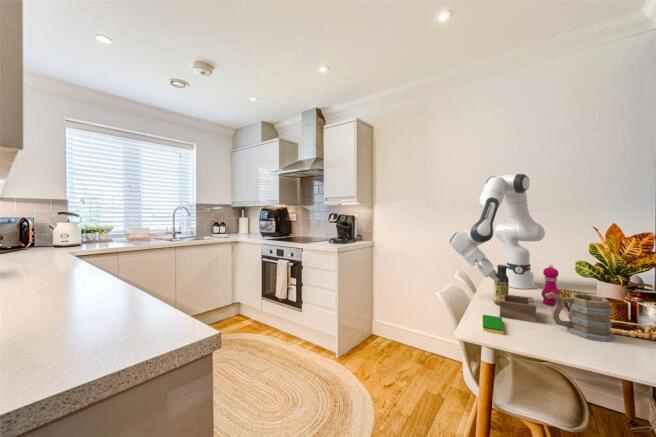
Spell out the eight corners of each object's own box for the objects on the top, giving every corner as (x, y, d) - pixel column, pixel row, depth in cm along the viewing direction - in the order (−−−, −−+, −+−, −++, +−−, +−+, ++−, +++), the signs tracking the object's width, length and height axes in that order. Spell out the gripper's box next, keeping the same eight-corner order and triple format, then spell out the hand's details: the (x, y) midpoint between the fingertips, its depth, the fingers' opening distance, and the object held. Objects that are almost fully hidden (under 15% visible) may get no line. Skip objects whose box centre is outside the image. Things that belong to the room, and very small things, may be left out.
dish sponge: (482, 332, 109) (482, 326, 109) (482, 319, 121) (482, 314, 121) (503, 335, 106) (503, 329, 106) (501, 322, 118) (501, 317, 118)
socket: (499, 307, 134) (499, 293, 133) (532, 312, 127) (532, 297, 126) (499, 316, 123) (499, 301, 122) (535, 322, 116) (535, 306, 115)
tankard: (602, 329, 108) (603, 292, 108) (619, 343, 97) (620, 302, 96) (540, 321, 117) (540, 287, 116) (549, 334, 106) (549, 295, 105)
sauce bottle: (495, 305, 137) (494, 266, 136) (492, 301, 143) (492, 263, 142) (510, 306, 135) (510, 266, 134) (507, 302, 141) (506, 264, 140)
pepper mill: (553, 301, 140) (553, 263, 139) (563, 306, 133) (564, 266, 132) (538, 301, 141) (538, 263, 140) (548, 306, 134) (548, 266, 133)
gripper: (479, 257, 134) (503, 279, 129) (482, 251, 151) (503, 270, 146) (469, 265, 137) (492, 287, 132) (473, 258, 154) (493, 278, 149)
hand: (498, 278), depth 139 cm, fingers open, 8 cm apart
